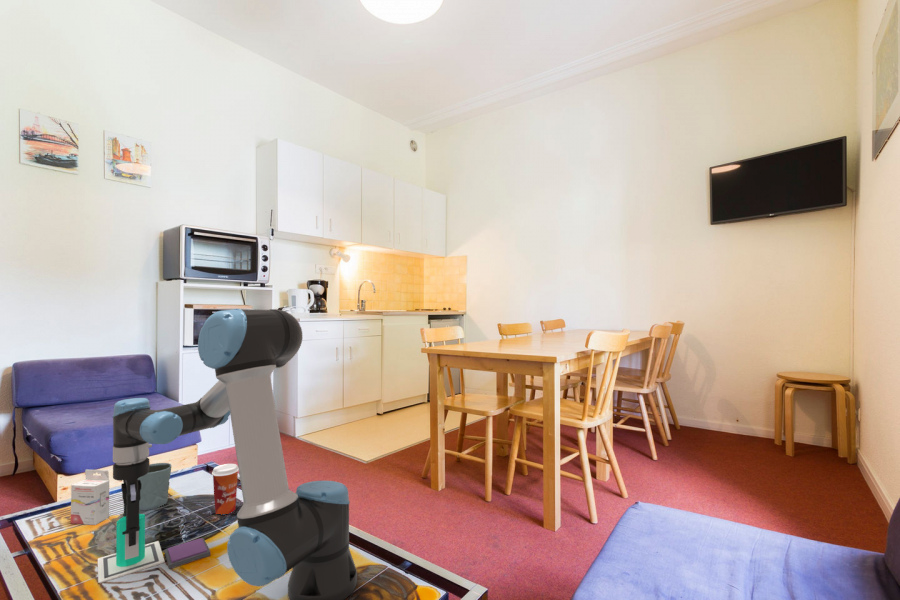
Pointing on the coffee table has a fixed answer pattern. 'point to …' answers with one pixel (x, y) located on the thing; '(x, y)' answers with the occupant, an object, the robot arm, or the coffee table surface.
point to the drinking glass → (155, 486)
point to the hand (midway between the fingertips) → (130, 552)
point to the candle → (121, 542)
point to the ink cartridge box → (90, 498)
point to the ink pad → (186, 552)
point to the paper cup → (225, 488)
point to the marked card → (112, 571)
